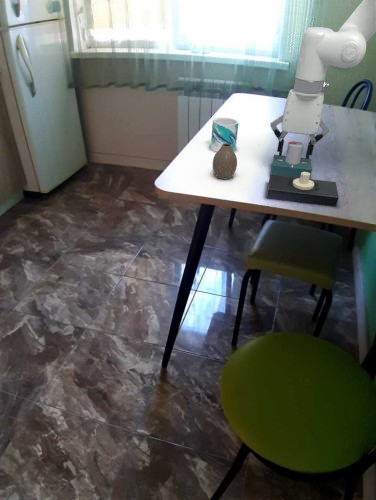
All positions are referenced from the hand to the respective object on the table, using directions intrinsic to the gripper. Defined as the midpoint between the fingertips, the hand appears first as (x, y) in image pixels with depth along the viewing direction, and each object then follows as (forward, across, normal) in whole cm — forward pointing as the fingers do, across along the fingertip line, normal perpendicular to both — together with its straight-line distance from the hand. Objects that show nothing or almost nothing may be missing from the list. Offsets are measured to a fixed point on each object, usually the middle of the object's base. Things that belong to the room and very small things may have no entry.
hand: (293, 155), depth 119 cm
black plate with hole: (+5, -3, +15) cm, 16 cm away
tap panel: (+5, 0, 0) cm, 5 cm away
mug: (+5, +22, -16) cm, 28 cm away
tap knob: (+2, 0, 0) cm, 2 cm away
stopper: (+4, -3, +15) cm, 16 cm away
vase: (+5, +19, +9) cm, 22 cm away
